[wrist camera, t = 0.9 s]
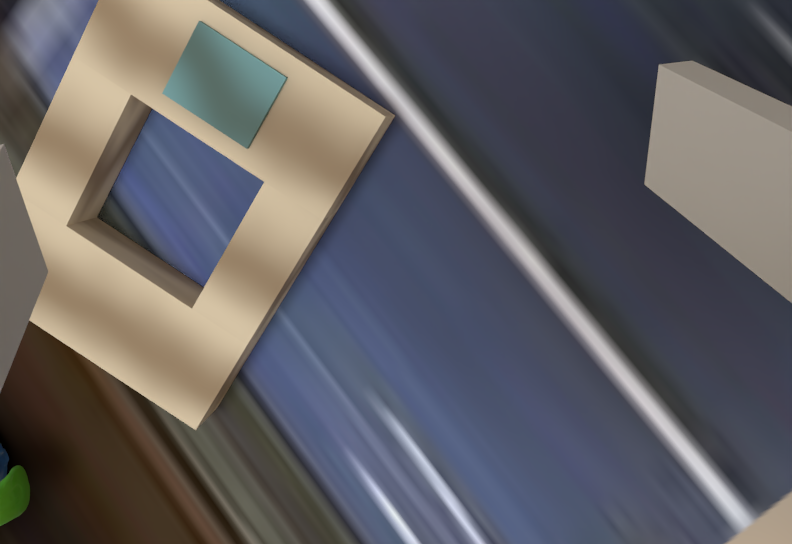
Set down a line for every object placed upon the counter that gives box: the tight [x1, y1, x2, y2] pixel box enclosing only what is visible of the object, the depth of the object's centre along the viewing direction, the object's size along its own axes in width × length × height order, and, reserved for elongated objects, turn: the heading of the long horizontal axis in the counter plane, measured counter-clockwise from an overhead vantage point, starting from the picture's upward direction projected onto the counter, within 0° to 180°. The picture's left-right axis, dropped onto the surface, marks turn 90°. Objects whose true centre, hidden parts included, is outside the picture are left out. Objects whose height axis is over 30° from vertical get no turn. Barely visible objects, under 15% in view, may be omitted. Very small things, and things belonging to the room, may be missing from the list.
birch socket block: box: [16, 0, 395, 430], centre depth 40 cm, size 20×15×3 cm
